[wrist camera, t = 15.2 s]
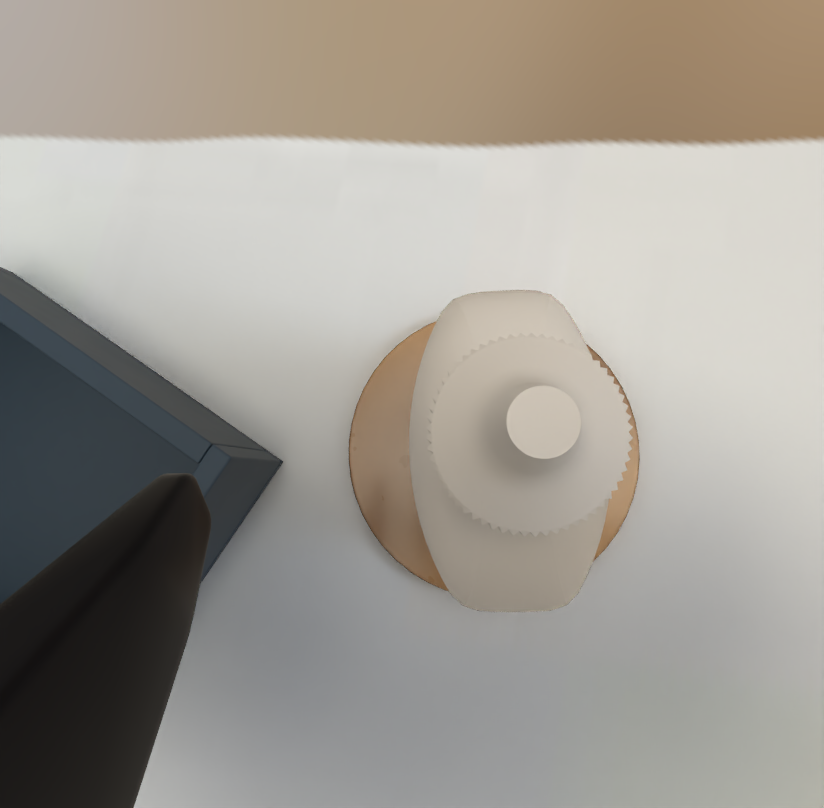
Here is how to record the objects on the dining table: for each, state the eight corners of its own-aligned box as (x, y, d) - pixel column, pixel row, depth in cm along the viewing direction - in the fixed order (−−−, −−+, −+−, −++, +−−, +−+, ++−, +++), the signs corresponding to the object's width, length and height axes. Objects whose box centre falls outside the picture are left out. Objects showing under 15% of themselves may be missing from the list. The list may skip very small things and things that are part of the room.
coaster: (691, 410, 18) (696, 409, 17) (534, 656, 17) (536, 660, 17) (450, 262, 19) (450, 258, 18) (297, 489, 18) (293, 490, 18)
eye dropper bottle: (602, 407, 17) (894, 261, 6) (514, 583, 17) (627, 825, 5) (467, 340, 18) (472, 79, 6) (379, 509, 18) (204, 576, 6)
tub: (283, 461, 19) (231, 457, 14) (108, 719, 18) (3, 791, 14) (12, 272, 20) (-104, 219, 16) (-156, 506, 20) (-320, 513, 15)
